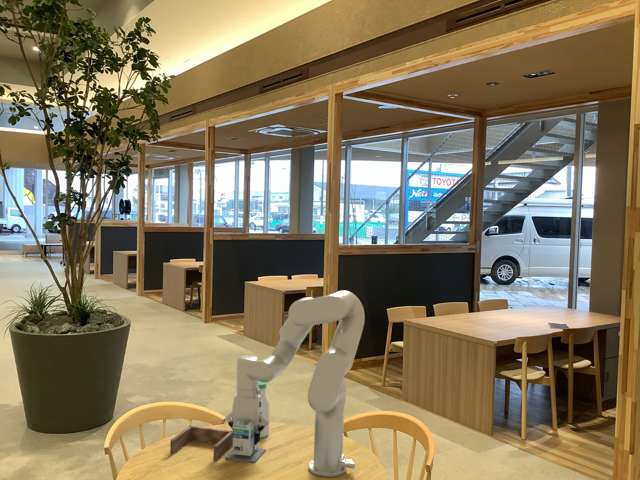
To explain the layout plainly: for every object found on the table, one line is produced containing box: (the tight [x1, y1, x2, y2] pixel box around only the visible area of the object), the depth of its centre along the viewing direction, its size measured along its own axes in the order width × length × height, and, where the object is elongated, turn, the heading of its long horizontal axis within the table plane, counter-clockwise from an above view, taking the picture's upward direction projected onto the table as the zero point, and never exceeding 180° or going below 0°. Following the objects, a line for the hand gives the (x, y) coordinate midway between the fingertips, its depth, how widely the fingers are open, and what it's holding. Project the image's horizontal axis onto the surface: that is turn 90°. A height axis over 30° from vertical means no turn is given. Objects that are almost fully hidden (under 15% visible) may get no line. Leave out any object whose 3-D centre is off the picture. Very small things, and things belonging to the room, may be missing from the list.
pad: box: [224, 447, 266, 464], centre depth 205 cm, size 11×11×1 cm
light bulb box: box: [232, 421, 260, 456], centre depth 205 cm, size 11×7×11 cm, turn 168°
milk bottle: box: [258, 381, 271, 439], centre depth 223 cm, size 8×8×20 cm
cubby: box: [169, 425, 233, 462], centre depth 208 cm, size 17×15×5 cm
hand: (246, 441), depth 205 cm, fingers closed on light bulb box, 6 cm apart
